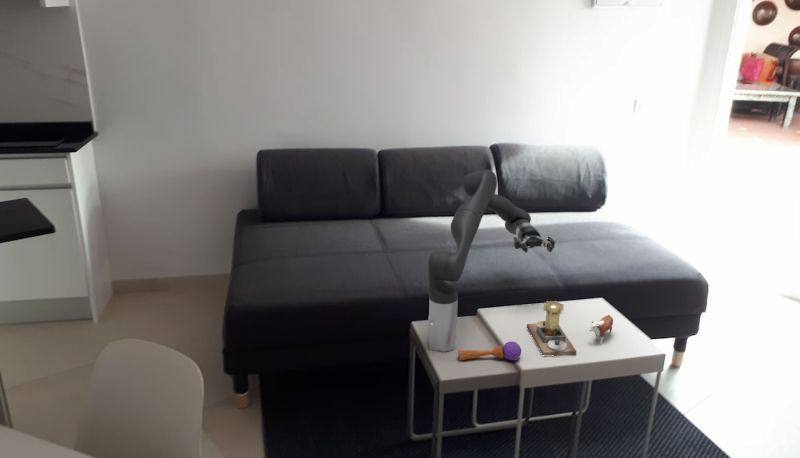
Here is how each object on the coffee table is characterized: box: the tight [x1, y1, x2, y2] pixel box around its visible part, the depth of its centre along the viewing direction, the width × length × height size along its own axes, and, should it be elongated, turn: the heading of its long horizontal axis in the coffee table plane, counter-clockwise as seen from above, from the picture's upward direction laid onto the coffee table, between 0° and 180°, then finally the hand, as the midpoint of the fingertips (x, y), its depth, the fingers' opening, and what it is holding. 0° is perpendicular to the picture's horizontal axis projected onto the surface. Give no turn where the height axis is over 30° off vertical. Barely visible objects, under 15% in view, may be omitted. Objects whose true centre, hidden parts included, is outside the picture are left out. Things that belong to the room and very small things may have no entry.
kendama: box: [457, 340, 522, 361], centre depth 202 cm, size 6×6×20 cm
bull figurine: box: [588, 314, 614, 345], centre depth 213 cm, size 4×13×8 cm, turn 135°
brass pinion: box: [543, 300, 564, 336], centre depth 211 cm, size 6×6×12 cm
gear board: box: [526, 320, 577, 357], centre depth 213 cm, size 11×20×4 cm, turn 4°
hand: (538, 249), depth 220 cm, fingers open, 8 cm apart
